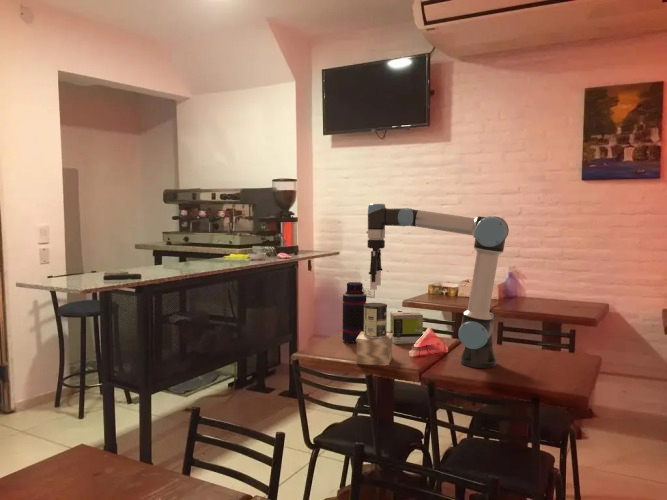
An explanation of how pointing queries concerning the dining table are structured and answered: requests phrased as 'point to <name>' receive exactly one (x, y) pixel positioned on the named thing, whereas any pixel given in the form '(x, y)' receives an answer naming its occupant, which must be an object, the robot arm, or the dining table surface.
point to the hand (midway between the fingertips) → (375, 287)
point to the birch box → (374, 350)
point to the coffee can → (375, 320)
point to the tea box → (406, 327)
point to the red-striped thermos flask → (353, 311)
